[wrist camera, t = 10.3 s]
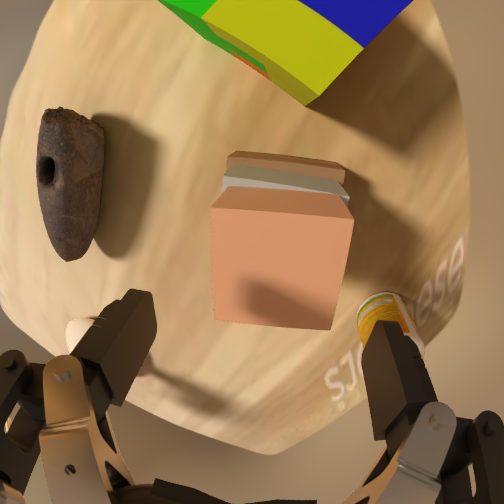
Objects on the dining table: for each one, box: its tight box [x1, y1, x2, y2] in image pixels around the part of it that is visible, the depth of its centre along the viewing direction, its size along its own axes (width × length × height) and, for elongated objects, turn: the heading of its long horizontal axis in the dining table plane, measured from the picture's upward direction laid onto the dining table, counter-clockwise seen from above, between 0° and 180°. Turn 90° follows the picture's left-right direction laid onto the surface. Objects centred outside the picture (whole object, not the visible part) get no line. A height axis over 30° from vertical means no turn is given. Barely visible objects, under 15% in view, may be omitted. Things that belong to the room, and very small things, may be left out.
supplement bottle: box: [356, 292, 425, 359], centre depth 23 cm, size 5×5×10 cm
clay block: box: [211, 186, 354, 330], centre depth 15 cm, size 6×6×4 cm
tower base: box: [227, 151, 346, 187], centre depth 22 cm, size 8×8×4 cm
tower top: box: [221, 164, 350, 207], centre depth 18 cm, size 7×7×4 cm
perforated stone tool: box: [36, 107, 105, 262], centre depth 21 cm, size 15×5×7 cm, turn 165°
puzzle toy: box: [158, 0, 413, 106], centre depth 12 cm, size 10×10×10 cm
